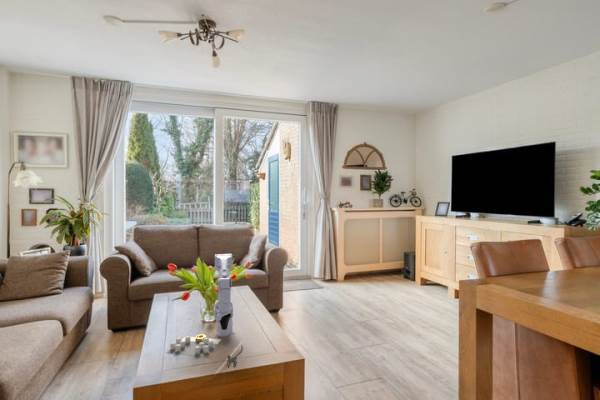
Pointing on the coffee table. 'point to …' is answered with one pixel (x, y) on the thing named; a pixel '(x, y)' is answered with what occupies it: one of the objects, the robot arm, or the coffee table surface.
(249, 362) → the coffee table surface
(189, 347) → the spacer board
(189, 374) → the coffee table surface
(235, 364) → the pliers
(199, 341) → the nut
